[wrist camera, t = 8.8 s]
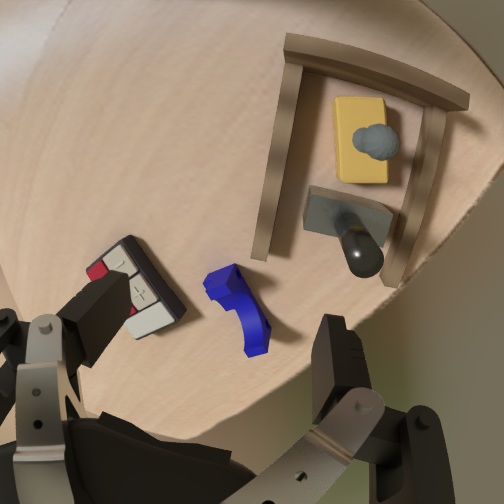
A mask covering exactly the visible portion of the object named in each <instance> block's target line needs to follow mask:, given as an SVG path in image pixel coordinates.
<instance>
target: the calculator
mask: <svg viewBox="0 0 504 504" xmlns="http://www.w3.org/2000/svg"><path fill="white" fill-rule="evenodd" d="M109 270H116V271H120V272H124V273H127V274H128V276H129V281H130V291H131V300H132V309H131V313H130V315H129V317H128V319H127V320H126V321H125V323H124V324H123V325H124V326H125V327H126V328H127V330H128V331H129V332H130V333H131V335H132V336H133V337H134V338H135V339H136V340H139V339H141V338H144V337H146V336H148V335H150V334H153V333H155V332H157V331H159V330H162V329H164V328H166V327H168V326H170V325H173V324H175V323H177V322H179V320H180V319H181V317H182V316H183V315H184V313H185V312H186V308H185V306H184V305H183V304H182V303H181V301H180V300H179V299H178V298H177V296H176V295H175V294H174V292H173V291H172V290H171V289H169V287H168V286H167V285H166V283H165V282H164V280H163V279H162V277H161V276H160V275H159V273H158V272H157V270H156V269H155V267H154V266H153V264H152V263H151V262H150V260H149V259H148V257H147V256H146V255H145V253H144V252H143V250H142V249H141V248H140V246H139V245H138V243H137V242H136V240H135V239H134V237H133V236H132V235H128V236H126V237H125V238H123V239H121V240H120V241H118V242H117V243H116V244H115V245H114V246H112V247H111V248H110V249H109V250H108V251H106V252H105V253H104V254H103V255H102V256H100V257H99V258H98V259H97V260H96V261H95V262H93V263H92V264H91V265H90V266H89V267H88V268H87V269H86V273H87V275H88V277H89V278H90V280H91V281H94V280H96V279H98V278H100V279H101V278H102V277H103V276H104V275H105V274H106V273H107V272H108V271H109Z"/></svg>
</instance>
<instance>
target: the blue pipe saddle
mask: <svg viewBox="0 0 504 504" xmlns="http://www.w3.org/2000/svg"><path fill="white" fill-rule="evenodd" d="M203 285H204V287H205V288H206V293H207V295H208V296H209V298H210V299H211V301H212V300H216V301H217V302H218V303H220V304H221V305H222V307H223V308H224V309H225V311H229V310H232V309H235V310H236V312H237V314H238V316H239V318H240V321H241V324H242V327H243V332H244V341H245V344H244V352H245V353H246V355H247V356H248V358H250V357H254V356H257V355H261V354H265V353H268V346H269V340H270V333H271V326H270V325H269V323H268V321H267V319H266V318H265V316H264V314H263V312H262V311H261V309H260V307H259V305H258V303H257V302H256V300H255V298H254V296H253V295H252V293H251V291H250V289H249V287H248V286H247V284H246V282H245V280H244V278H243V277H242V275H241V273H240V271H239V269H238V268H237V266H236V264H235V263H234V264H232V265H229V266H227V267H224V268H222V269H219V270H217V271H214V272H212V273H209V274H208V275H207V277H206V278H205V280H204V282H203Z"/></svg>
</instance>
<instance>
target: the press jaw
mask: <svg viewBox="0 0 504 504" xmlns="http://www.w3.org/2000/svg"><path fill="white" fill-rule="evenodd" d="M392 218H393V214H392V213H391V212H390V211H389V210H388V209H387V208H386V207H384V206H383V205H382V204H381V203H379V202H376V201H372V200H368V199H365V198H361V197H357V196H353V195H349V194H345V193H341V192H337V191H333V190H328V189H324V188H320V187H315V186H311V185H309V189H308V193H307V198H306V203H305V207H304V212H303V229H304V230H307V231H312V232H316V233H321V234H325V235H330V236H334V237H338V238H339V241H340V243H341V246H342V249H343V252H344V254H345V257H346V260H347V263H348V266H349V269H350V271H351V272H352V273H353V274H354V275H355V276H357V277H360V278H369V277H372V276H374V275H375V274H377V273H378V272H379V271H380V270H381V268H382V266H383V263H384V255H383V253H382V251H381V249H380V248H379V247H382V248H383V246H384V243H385V240H386V237H387V234H388V231H389V227H390V224H391V221H392Z"/></svg>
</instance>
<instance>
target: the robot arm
mask: <svg viewBox="0 0 504 504" xmlns="http://www.w3.org/2000/svg"><path fill="white" fill-rule="evenodd" d="M131 309H132V300H131V291H130V281H129V276H128V274H127V273H124V272H120V271H116V270H109V271H108V272H107V273H106V274H105V275H104V276H103V277H102V278H101V279H100V278H98V279H96V280H94V281H92V282H90V283H88V284H87V285H86V286H85V287H84V288H83V289H82V290H81V291H80V292H78V293H77V294H76V297H75V296H74V297H73V298H72V299H71V300H70V301H69V302H68V303H67V304H66V305H65V306H64V307H63V308H62V309H61V310H60V311H59V312H58V313H57V314H56V315H53V314H44V315H40V316H38V317H36V318H35V319H34V320H33V321H32V322H24V321H19V320H18V318H17V315H16V312H15V311H14V310H12V309H9V308H5V309H1V310H0V354H1V352H2V353H3V355H4V356H5V358H6V361H5V363H4V364H3V365H2V367H1V368H0V426H1V424H2V423H3V421H4V419H5V418H6V416H7V414H8V413H9V411H10V410H11V408H12V407H13V405H14V404H16V405H15V412H16V413H15V417H16V441H13V442H10V443H7V444H4V445H1V446H0V504H315V503H316V502H317V501H318V500H319V499H320V498H321V496H322V495H323V494H324V493H325V492H326V491H327V490H328V489H329V488H330V487H331V485H332V484H333V483H334V482H335V481H336V480H337V478H338V477H339V476H340V475H341V474H342V473H343V471H344V470H345V469H346V468H347V466H348V465H349V464H350V462H351V461H352V459H353V458H355V459H358V460H362V461H365V462H368V463H369V482H370V483H369V486H370V487H369V497H370V498H369V504H455V496H454V488H453V481H452V475H451V469H450V463H449V458H448V453H447V449H446V443H445V439H444V434H443V430H442V426H441V422H440V419H439V417H438V415H437V414H436V412H435V411H433V410H432V409H431V408H429V407H426V406H422V405H418V406H414V407H412V408H411V409H410V410H409V411H408V412H407V413H405V412H401V411H398V410H395V409H391V408H389V407H386V406H385V405H384V402H383V400H382V398H381V397H380V395H378V394H377V393H376V392H375V391H373V390H372V387H371V382H370V378H369V373H368V368H367V364H366V360H365V355H364V352H363V346H362V342H361V339H360V338H359V337H358V335H357V334H356V333H355V331H352V330H347V328H346V324H345V319H344V317H343V316H338V315H331V314H324V316H323V318H322V321H321V324H320V327H319V329H318V332H317V335H316V338H315V341H314V343H313V347H312V354H311V367H312V424H316V425H317V426H316V427H315V428H314V429H313V430H309V431H308V432H307V433H305V434H304V435H303V436H302V437H301V438H300V439H299V440H298V441H297V442H296V443H295V444H294V445H293V446H292V447H290V448H289V449H288V450H287V451H286V452H285V453H284V454H283V455H282V456H280V457H279V458H278V459H277V460H276V461H275V462H273V464H271V465H270V466H269V467H268V468H266V469H265V470H264V471H263V472H261V473H260V474H259V475H258V476H257V475H256V474H255V473H253V472H252V471H251V470H249V469H248V468H247V467H245V466H244V465H242V464H240V463H238V462H236V461H234V460H232V459H230V457H231V453H232V451H228V450H223V449H219V448H214V447H209V446H205V445H201V444H197V443H196V444H195V443H176V442H164V441H160V440H157V439H156V438H154V437H152V436H151V435H149V434H148V433H146V432H144V431H143V430H141V429H140V428H138V427H137V426H135V425H134V424H132V423H130V422H128V421H125V420H123V419H120V418H118V417H115V416H113V415H110V414H108V413H106V412H102V413H101V415H100V417H99V419H97V418H88V417H87V415H86V411H85V408H84V402H83V395H82V389H81V381H80V373H79V370H78V368H79V366H80V365H81V364H82V365H84V366H87V367H89V368H92V366H93V365H94V364H95V362H96V361H97V359H98V358H99V357H100V355H101V354H102V352H103V351H104V350H105V348H106V347H107V346H108V344H109V343H110V341H111V340H112V339H113V337H114V336H115V335H116V333H117V332H118V331H119V329H120V328H121V327H122V325H123V324H124V323H125V321H126V320H127V319H128V317H129V315H130V313H131ZM15 402H16V403H15Z"/></svg>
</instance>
